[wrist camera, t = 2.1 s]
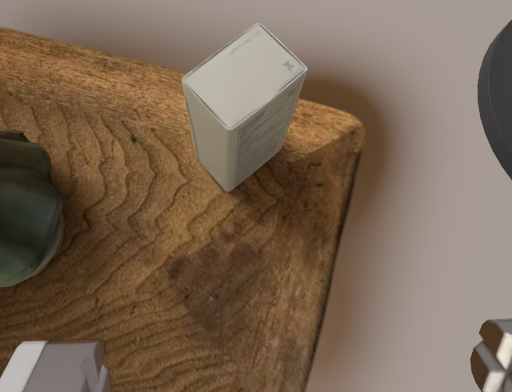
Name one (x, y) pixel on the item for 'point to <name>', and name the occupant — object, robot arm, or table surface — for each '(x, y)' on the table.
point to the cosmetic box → (242, 104)
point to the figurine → (27, 209)
